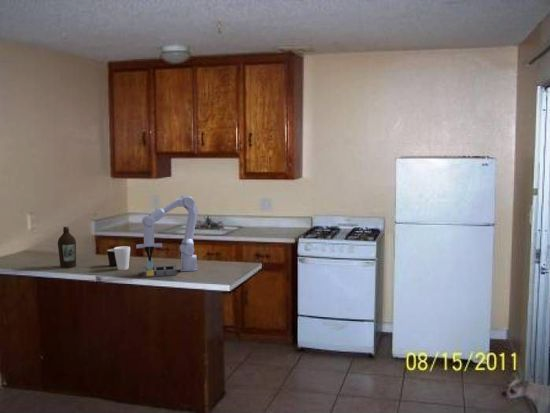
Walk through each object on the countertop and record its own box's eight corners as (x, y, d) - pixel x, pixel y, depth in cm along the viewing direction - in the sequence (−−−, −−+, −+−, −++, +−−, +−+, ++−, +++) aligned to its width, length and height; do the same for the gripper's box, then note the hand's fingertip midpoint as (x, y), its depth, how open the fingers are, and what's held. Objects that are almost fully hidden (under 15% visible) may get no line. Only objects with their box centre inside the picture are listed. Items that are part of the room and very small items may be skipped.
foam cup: (118, 271, 342) (117, 249, 341) (112, 268, 349) (111, 247, 348) (133, 268, 348) (132, 247, 346) (127, 266, 355) (126, 245, 354)
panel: (153, 271, 336) (152, 258, 336) (153, 274, 329) (152, 261, 328) (147, 272, 336) (147, 258, 335) (147, 275, 328) (147, 261, 327)
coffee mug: (108, 267, 352) (107, 251, 351) (107, 265, 360) (106, 249, 359) (127, 266, 357) (127, 250, 355) (126, 263, 365) (125, 247, 363)
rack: (176, 270, 341) (176, 265, 341) (177, 275, 328) (176, 269, 328) (143, 272, 338) (143, 266, 337) (143, 277, 325) (142, 271, 324)
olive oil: (57, 266, 359) (54, 226, 356) (74, 264, 365) (72, 225, 362) (61, 269, 350) (59, 228, 347) (79, 267, 356) (77, 227, 353)
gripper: (161, 234, 335) (162, 257, 337) (136, 236, 332) (137, 259, 334) (161, 236, 328) (162, 260, 330) (135, 238, 325) (136, 261, 327)
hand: (149, 259), depth 331 cm, fingers closed, pressing on panel
